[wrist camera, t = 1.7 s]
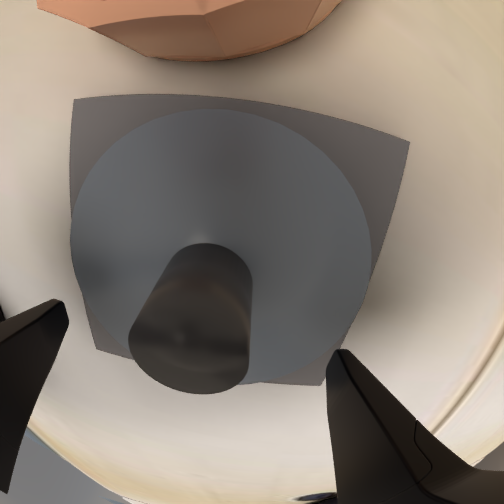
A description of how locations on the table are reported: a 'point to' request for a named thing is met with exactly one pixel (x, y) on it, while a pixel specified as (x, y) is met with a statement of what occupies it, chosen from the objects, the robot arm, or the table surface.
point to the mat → (300, 121)
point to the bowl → (195, 24)
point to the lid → (220, 249)
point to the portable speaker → (330, 501)
